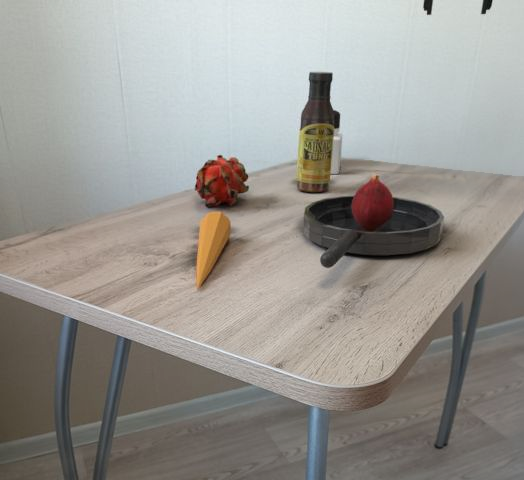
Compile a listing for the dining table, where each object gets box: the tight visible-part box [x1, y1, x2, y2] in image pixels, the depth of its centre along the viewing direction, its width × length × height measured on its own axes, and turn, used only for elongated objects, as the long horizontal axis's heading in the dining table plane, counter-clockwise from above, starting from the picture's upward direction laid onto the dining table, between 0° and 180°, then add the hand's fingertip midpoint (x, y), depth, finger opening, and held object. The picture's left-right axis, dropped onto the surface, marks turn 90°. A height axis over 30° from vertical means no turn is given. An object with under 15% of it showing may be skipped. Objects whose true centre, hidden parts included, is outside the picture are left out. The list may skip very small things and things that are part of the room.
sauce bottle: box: [296, 71, 335, 193], centre depth 99 cm, size 7×6×20 cm
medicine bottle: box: [330, 109, 343, 175], centre depth 116 cm, size 7×7×12 cm
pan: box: [302, 194, 445, 257], centre depth 78 cm, size 19×19×4 cm
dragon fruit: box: [194, 154, 250, 208], centre depth 93 cm, size 8×8×12 cm
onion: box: [351, 173, 394, 232], centre depth 77 cm, size 6×6×8 cm
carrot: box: [196, 211, 232, 291], centre depth 70 cm, size 20×4×4 cm, turn 177°
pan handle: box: [319, 230, 358, 269], centre depth 66 cm, size 11×2×2 cm, turn 155°
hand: (455, 14), depth 90 cm, fingers open, 8 cm apart
